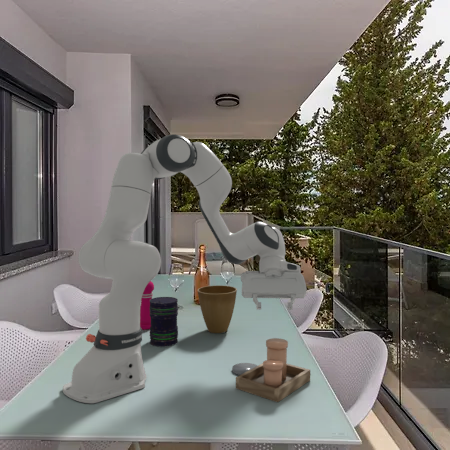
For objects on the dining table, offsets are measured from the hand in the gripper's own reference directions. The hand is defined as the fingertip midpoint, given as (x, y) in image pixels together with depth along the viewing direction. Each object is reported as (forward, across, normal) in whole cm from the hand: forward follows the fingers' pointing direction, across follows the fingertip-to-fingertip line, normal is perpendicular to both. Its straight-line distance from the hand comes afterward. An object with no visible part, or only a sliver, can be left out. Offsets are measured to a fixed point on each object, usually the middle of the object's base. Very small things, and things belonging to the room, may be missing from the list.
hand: (274, 308), depth 135 cm
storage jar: (0, -38, +24) cm, 45 cm away
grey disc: (+17, -9, +7) cm, 20 cm away
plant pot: (-10, -20, +35) cm, 41 cm away
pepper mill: (-12, -48, +36) cm, 61 cm away
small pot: (+26, -2, -4) cm, 26 cm away
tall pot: (+20, 0, +2) cm, 20 cm away
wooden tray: (+23, -1, +1) cm, 23 cm away
